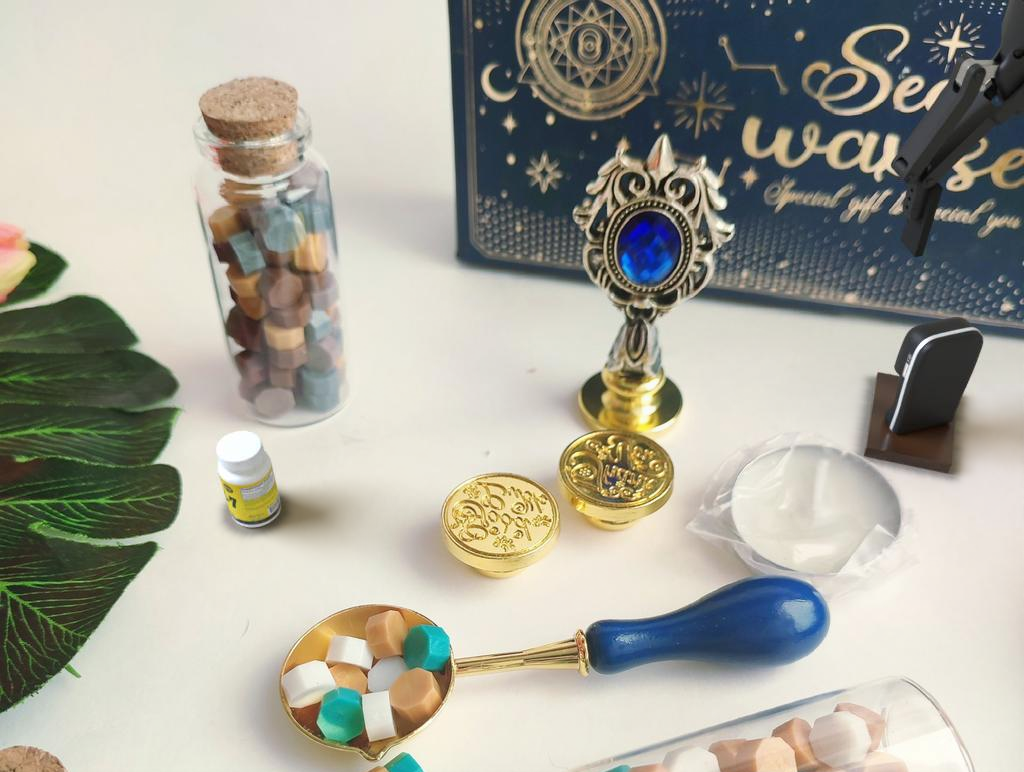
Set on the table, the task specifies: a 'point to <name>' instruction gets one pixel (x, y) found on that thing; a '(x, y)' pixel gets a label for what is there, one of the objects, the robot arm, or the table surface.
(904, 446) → the walnut board
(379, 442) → the table surface
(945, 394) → the battery charger
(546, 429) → the table surface
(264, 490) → the supplement bottle
